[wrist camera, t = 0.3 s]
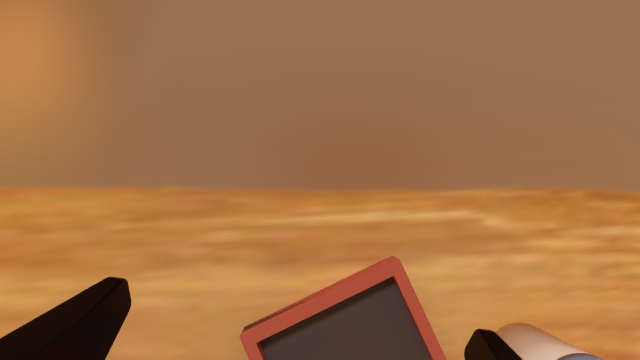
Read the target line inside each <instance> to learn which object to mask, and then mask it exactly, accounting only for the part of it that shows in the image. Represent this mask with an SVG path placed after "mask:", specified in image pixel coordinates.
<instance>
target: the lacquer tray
mask: <svg viewBox="0 0 640 360" xmlns="http://www.w3.org/2000/svg"><path fill="white" fill-rule="evenodd" d="M240 339H241V342H242V344H243V346H244V349H245V351H246V353H247V356H248V358H249V360H446V358H445V355H444V353H443V351H442V349H441V347H440V345H439V343H438V340H437V338H436V336H435V334H434V332H433V330H432V328H431V326H430V323H429V321H428V319H427V317H426V315H425V313H424V311H423V309H422V306H421V304H420V302H419V300H418V298H417V296H416V294H415V292H414V289H413V287H412V285H411V283H410V281H409V279H408V277H407V275H406V272H405V270H404V268H403V266H402V264H401V262H400V260H399V259H398V258H396V257H394V256H391V257H389V258H387V259H384V260H382V261H380V262H378V263H376V264H374V265H372V266H370V267H368V268H366V269H364V270H362V271H360V272H358V273H355V274H353V275H351V276H349V277H347V278H345V279H343V280H341V281H339V282H337V283H335V284H333V285H331V286H329V287H327V288H324V289H322V290H320V291H318V292H316V293H314V294H312V295H310V296H308V297H306V298H304V299H302V300H300V301H298V302H295V303H293V304H291V305H289V306H287V307H285V308H283V309H281V310H279V311H277V312H275V313H273V314H271V315H269V316H267V317H264V318H262V319H260V320H258V321H256V322H254V323H252V324H250V325H248V326H246V327H245V328H244V330H243V331H242V333H241V335H240Z"/></svg>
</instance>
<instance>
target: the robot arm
mask: <svg viewBox="0 0 640 360" xmlns="http://www.w3.org/2000/svg"><path fill="white" fill-rule="evenodd" d="M130 307H131V297H130V292H129V286H128V282H127V280H126V279H124V278H117V277H108V278H105V279H104V280H102V281H100V282H98V283H97V284H95V285H93V286H91V287H89V288H88V289H86V290H84V291H82V292H81V293H79V294H77V295H75V296H74V297H72V298H70V299H68V300H67V301H65V302H63V303H61V304H60V305H58V306H56V307H54V308H53V309H51V310H49V311H47V312H46V313H44V314H42V315H40V316H39V317H37V318H35V319H33V320H32V321H30V322H28V323H26V324H25V325H23V326H21V327H19V328H18V329H16V330H14V331H12V332H11V333H9V334H7V335H5V336H4V337H2V338H0V360H105V359H106V357H107V355H108V353H109V351H110V349H111V347H112V344H113V342H114V340H115V338H116V336H117V334H118V332H119V330H120V328H121V326H122V324H123V322H124V320H125V318H126V316H127V314H128V312H129V310H130ZM464 355H465V360H523V359H522V358H521V357H520V356H519V355H518V354H517V353H516V352H515V351H514V350H513V349H512V348H511V347H510V346H509V345H508V344H507V343H506V342H505V341H504V340H503V339H502V338H501V337H500V336H499V335H498V334H497V333H495V332H494V331H491V330H485V329H477V330H475V332H474V333H473V335H472V337H471V339H470V340H469V342H468V344H467V346H466V348H465V353H464Z"/></svg>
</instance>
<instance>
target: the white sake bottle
mask: <svg viewBox="0 0 640 360" xmlns="http://www.w3.org/2000/svg"><path fill="white" fill-rule="evenodd" d="M495 333H497V334H498V335H499V336H500V337H501V338H502V339H503V340H504V341H505V342H506V343H507V344H508V345H509V346H510V347H511V348H512V349H513V350H514V351H515V352H516V353H517V354H518V355H519V356H520V357H521V358H522V359H523V360H604V359H602V358H599V357H597V356H594V355H592V354H590V353H588V352H585V351H583V350H581V349H579V348H577V347H575V346H573V345H571V344H569V343H567V342H565V341H563V340H561V339H559V338H557V337H555V336H553V335H551V334H549V333H547V332H545V331H543V330H541V329H539V328H537V327H535V326H533V325H530V324H526V323H513V324H509V325H506V326H504V327H502V328H501V329H499V330H498V331H497V332H495Z"/></svg>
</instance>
